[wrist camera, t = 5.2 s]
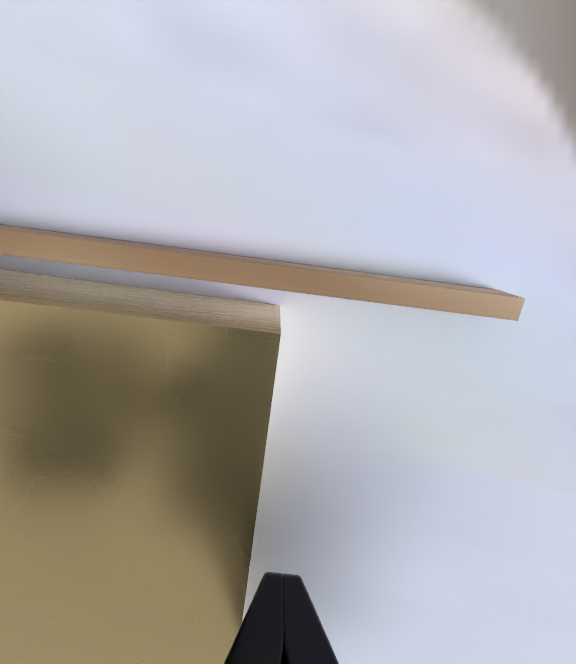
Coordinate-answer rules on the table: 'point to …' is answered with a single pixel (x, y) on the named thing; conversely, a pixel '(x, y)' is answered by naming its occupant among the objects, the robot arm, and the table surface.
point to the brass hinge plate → (128, 469)
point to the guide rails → (257, 272)
